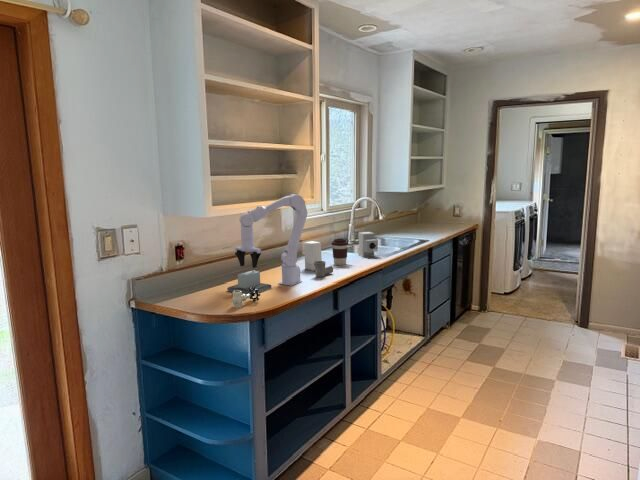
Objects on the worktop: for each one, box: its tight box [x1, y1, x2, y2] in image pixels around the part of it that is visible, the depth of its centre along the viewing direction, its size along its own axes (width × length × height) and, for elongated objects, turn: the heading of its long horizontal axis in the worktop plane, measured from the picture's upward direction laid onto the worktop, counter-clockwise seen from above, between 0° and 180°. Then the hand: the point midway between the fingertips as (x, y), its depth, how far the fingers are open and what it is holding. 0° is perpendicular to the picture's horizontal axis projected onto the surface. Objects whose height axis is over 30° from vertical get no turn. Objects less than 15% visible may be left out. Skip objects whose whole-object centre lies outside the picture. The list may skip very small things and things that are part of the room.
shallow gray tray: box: [227, 282, 272, 295], centre depth 208 cm, size 14×15×2 cm
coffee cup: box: [331, 238, 349, 266], centre depth 262 cm, size 10×10×15 cm
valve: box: [231, 286, 261, 309], centre depth 185 cm, size 7×7×12 cm
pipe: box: [313, 260, 334, 278], centre depth 234 cm, size 6×13×8 cm, turn 135°
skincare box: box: [303, 240, 323, 272], centre depth 250 cm, size 8×7×16 cm
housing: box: [237, 269, 261, 289], centre depth 208 cm, size 10×5×6 cm, turn 148°
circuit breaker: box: [357, 231, 379, 258], centre depth 285 cm, size 8×14×15 cm, turn 21°
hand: (248, 266), depth 213 cm, fingers open, 7 cm apart
